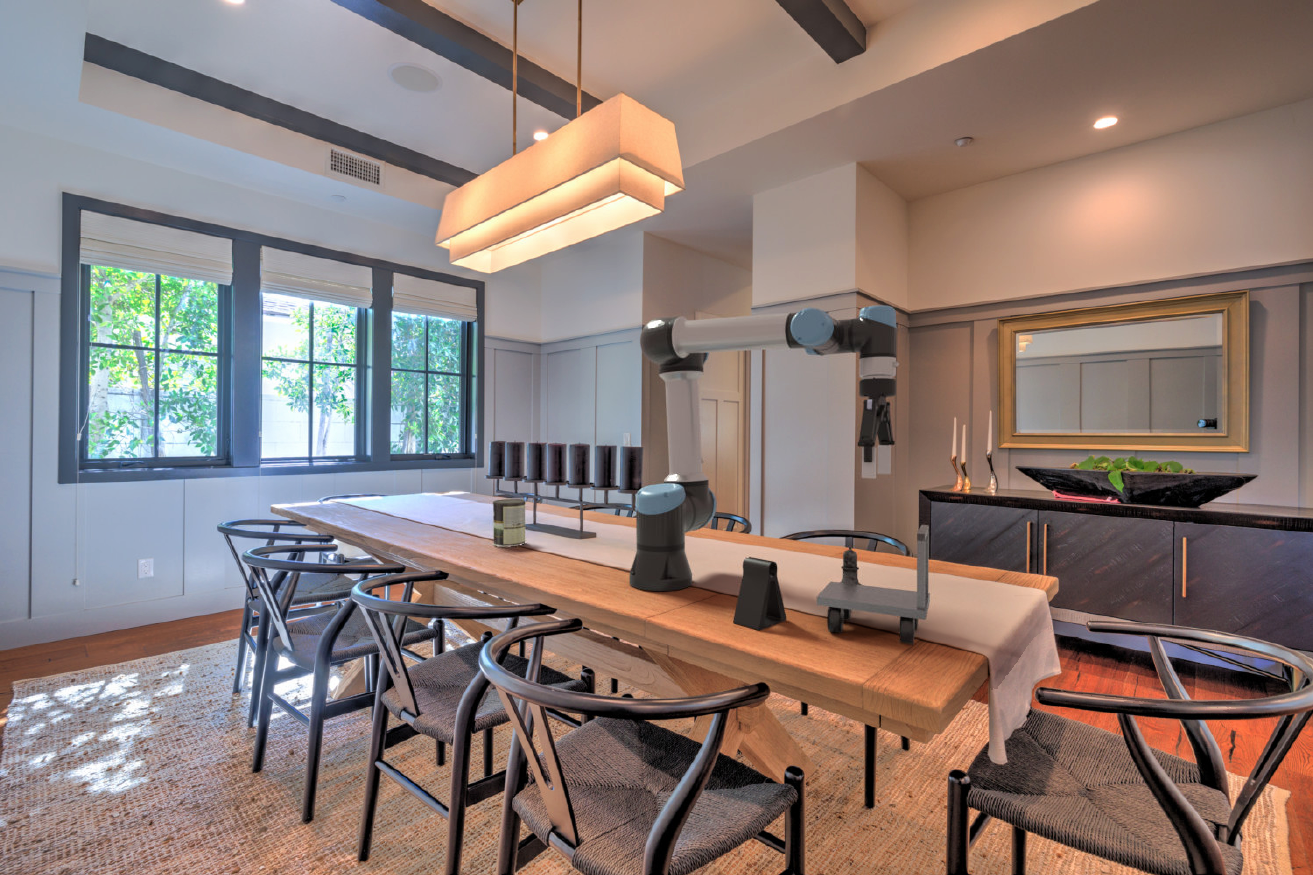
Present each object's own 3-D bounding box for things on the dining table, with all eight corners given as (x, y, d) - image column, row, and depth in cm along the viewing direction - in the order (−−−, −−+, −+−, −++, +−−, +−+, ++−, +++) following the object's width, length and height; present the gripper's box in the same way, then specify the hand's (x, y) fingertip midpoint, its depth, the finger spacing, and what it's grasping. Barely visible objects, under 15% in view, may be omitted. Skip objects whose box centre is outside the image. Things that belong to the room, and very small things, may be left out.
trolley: (816, 633, 106) (816, 527, 105) (831, 613, 117) (831, 517, 117) (925, 650, 97) (925, 535, 97) (930, 627, 109) (930, 524, 108)
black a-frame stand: (758, 631, 107) (758, 565, 107) (732, 623, 111) (732, 560, 111) (786, 620, 113) (786, 558, 113) (761, 613, 117) (761, 553, 117)
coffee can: (487, 547, 185) (487, 502, 185) (500, 540, 195) (500, 498, 195) (518, 547, 183) (518, 503, 183) (530, 541, 194) (530, 499, 193)
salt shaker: (829, 600, 126) (829, 544, 126) (851, 596, 128) (851, 542, 128) (848, 607, 121) (848, 549, 120) (870, 604, 123) (870, 547, 123)
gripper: (882, 373, 115) (881, 481, 115) (907, 381, 135) (906, 473, 136) (843, 375, 119) (842, 479, 119) (873, 383, 139) (873, 471, 140)
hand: (876, 476), depth 127 cm, fingers open, 13 cm apart
